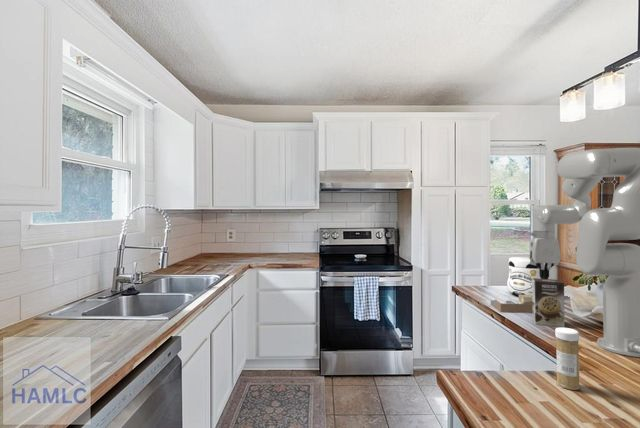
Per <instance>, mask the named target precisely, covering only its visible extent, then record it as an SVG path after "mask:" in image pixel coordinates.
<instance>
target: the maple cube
mask: <svg viewBox="0 0 640 428" xmlns="http://www.w3.org/2000/svg"><path fill="white" fill-rule="evenodd" d="M518 303H519V304H532V296H530V295H519V296H518Z"/></svg>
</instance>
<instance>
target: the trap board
mask: <svg viewBox="0 0 640 428" xmlns="http://www.w3.org/2000/svg"><path fill="white" fill-rule="evenodd" d="M490 306H491V307H493V308H494V309H496V310H497V311H498V312H499V313H518V314H519V313H520V314H523V313H524V314H525V313H526V314H532V304H519V302H518V303H515V302H514V301H512V300H505V302H500V301H499V300H497V299H494V300H490Z"/></svg>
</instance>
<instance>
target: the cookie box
mask: <svg viewBox="0 0 640 428" xmlns="http://www.w3.org/2000/svg"><path fill="white" fill-rule="evenodd" d="M531 314H532V315H531V316H532V317H531V318H532V321H533V323H534V324H535V325H539V326H548V327H556V328H559V327H564V328H565V282H564V281H562V280H560V279H554V278H553V279H551V278H548V279H537V278H532V313H531Z"/></svg>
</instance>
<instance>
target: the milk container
mask: <svg viewBox="0 0 640 428" xmlns="http://www.w3.org/2000/svg"><path fill="white" fill-rule="evenodd" d="M536 263H537V262H536ZM544 264H545V263H544ZM532 278H537V279H541V278H540V276H539V268H538V267H537V266H535V265H532V264H530V256H511V257H509V258H508V279H507V282H506V285H507V290H508V292H509V293H510V294H512V295H515V296H517V297H519V295H530V296H532Z"/></svg>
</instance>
